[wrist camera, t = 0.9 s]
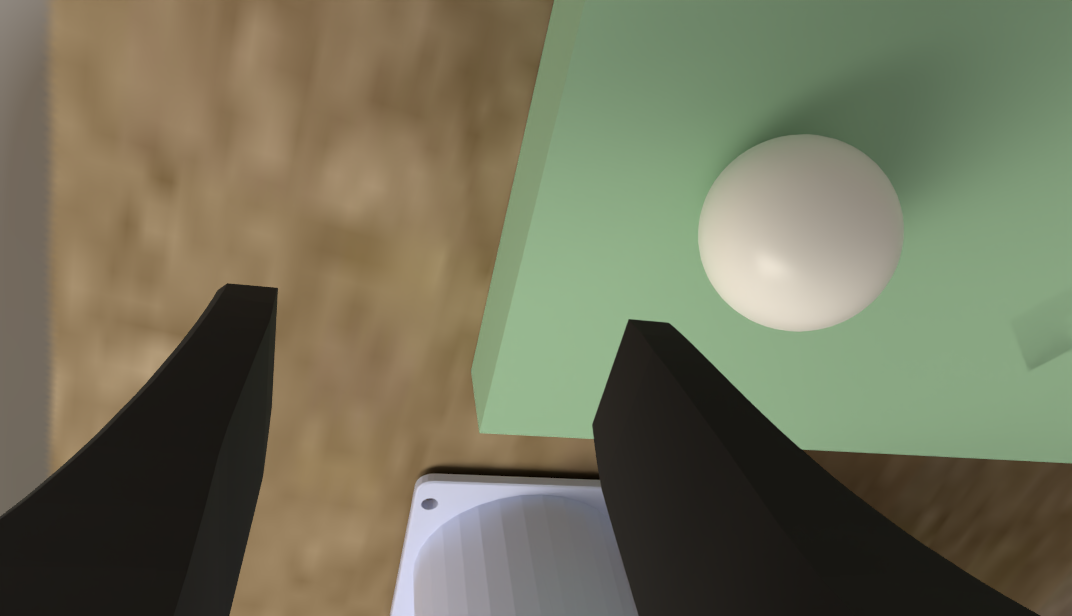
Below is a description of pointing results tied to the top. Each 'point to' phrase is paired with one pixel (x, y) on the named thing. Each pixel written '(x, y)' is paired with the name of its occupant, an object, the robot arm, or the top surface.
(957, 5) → the putting mat
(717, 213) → the ball
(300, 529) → the top surface
